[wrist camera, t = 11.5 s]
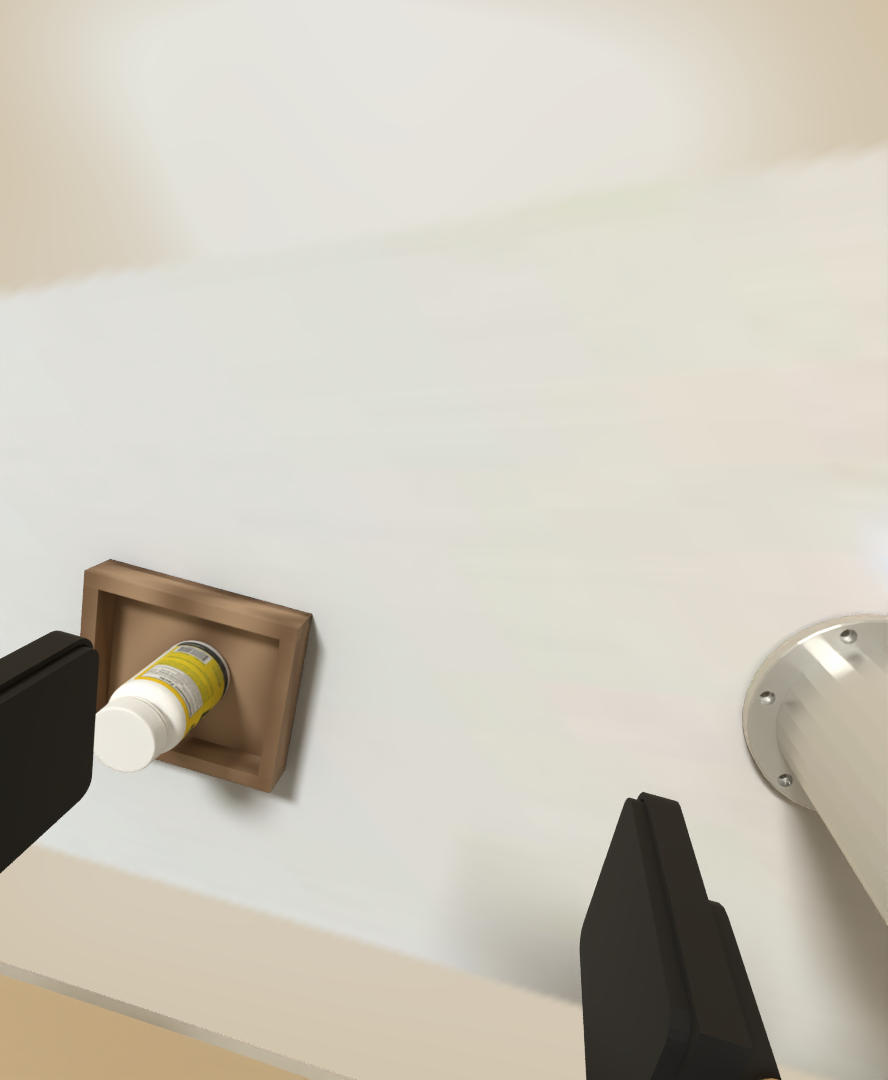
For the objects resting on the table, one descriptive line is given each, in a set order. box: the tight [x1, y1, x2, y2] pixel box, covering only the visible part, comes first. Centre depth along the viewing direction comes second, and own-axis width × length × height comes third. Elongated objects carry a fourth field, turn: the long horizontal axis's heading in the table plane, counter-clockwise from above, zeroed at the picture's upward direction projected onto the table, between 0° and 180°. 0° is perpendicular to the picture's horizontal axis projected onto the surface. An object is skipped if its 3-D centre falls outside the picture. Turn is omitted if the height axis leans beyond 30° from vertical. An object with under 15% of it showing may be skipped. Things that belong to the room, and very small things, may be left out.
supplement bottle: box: [93, 640, 230, 772], centre depth 39 cm, size 5×5×8 cm
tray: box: [80, 559, 312, 793], centre depth 43 cm, size 14×12×2 cm
